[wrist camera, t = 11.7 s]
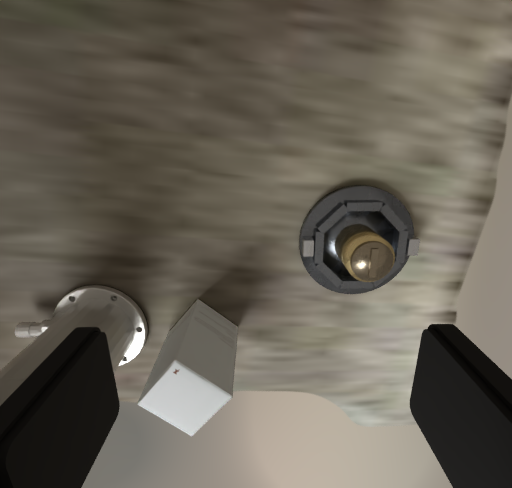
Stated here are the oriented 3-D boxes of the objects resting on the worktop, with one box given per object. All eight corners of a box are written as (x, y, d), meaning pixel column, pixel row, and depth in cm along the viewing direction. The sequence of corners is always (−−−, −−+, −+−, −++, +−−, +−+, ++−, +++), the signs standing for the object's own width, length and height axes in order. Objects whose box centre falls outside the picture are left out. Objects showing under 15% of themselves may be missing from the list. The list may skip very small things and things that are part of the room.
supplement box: (166, 332, 44) (133, 404, 32) (198, 296, 43) (175, 358, 31) (208, 360, 46) (190, 439, 34) (240, 327, 44) (234, 398, 32)
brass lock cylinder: (336, 223, 38) (351, 240, 32) (379, 223, 38) (402, 239, 32) (333, 263, 40) (346, 286, 34) (374, 263, 40) (395, 285, 34)
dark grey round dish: (297, 291, 42) (300, 301, 40) (300, 185, 38) (304, 189, 35) (402, 289, 42) (412, 300, 39) (417, 184, 38) (430, 187, 35)
